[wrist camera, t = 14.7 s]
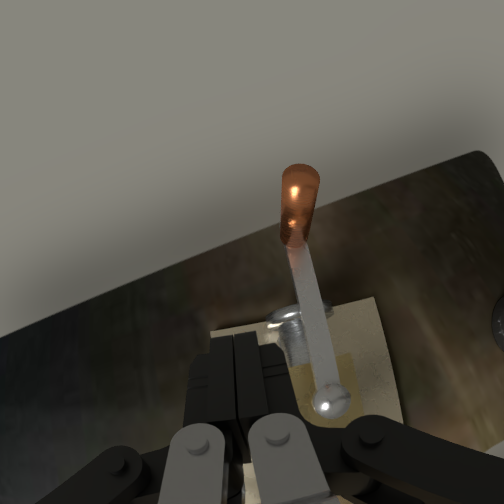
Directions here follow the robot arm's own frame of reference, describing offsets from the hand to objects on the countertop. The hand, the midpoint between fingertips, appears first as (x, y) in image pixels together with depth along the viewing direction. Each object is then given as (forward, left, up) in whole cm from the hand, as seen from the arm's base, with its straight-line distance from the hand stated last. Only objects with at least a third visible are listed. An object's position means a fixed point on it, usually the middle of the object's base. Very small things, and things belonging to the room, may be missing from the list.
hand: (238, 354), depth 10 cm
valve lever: (-5, -3, -14) cm, 16 cm away
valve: (-5, +5, -26) cm, 27 cm away
